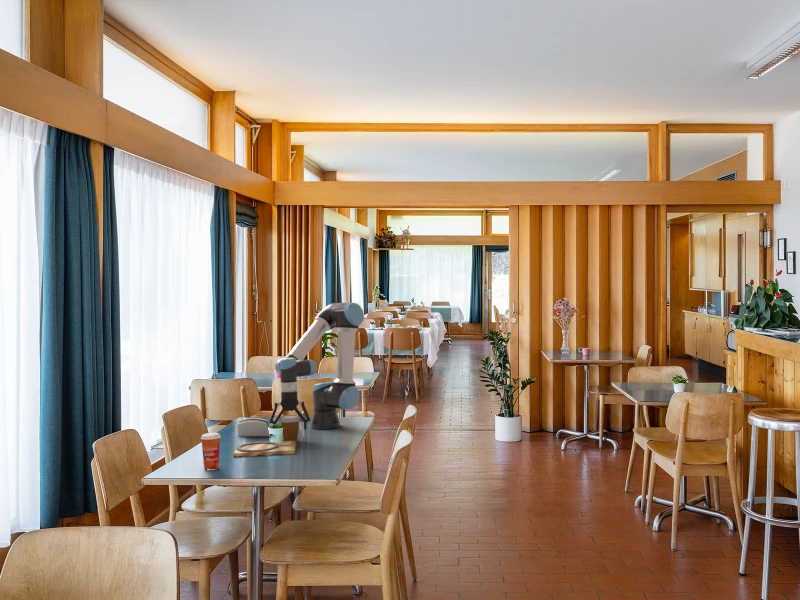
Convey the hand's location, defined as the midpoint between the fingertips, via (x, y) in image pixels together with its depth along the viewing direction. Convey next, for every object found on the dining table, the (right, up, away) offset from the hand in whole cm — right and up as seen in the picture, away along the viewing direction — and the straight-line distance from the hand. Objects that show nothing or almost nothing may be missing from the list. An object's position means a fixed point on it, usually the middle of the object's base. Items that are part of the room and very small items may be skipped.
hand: (290, 437), depth 327 cm
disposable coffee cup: (0, -2, 0) cm, 2 cm away
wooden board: (-8, -3, -17) cm, 19 cm away
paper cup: (-24, -4, -48) cm, 54 cm away
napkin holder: (-21, -3, +18) cm, 28 cm away
